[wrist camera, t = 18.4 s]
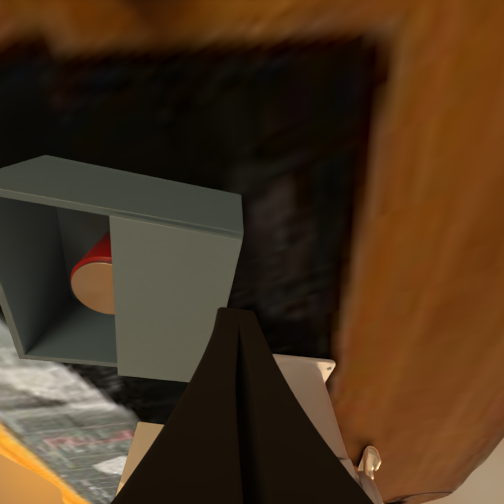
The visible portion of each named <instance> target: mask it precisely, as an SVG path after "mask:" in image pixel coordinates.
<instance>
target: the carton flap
mask: <svg viewBox="0 0 504 504" xmlns="http://www.w3.org/2000/svg"><path fill="white" fill-rule="evenodd" d="M109 219H110V237H111V255H112V273H113V292H114V310H115V328H116V346H117V364H118V375H123V376H133V377H143V378H153V379H163V380H173V381H183V382H190V380H191V378H192V376H193V374H194V372H195V370H196V368H197V366H198V364H199V362H200V360H201V358H202V356H203V354H204V352H205V349H206V347H207V344H208V342H209V340H210V337H211V335H212V332H213V328H214V323H215V319H216V314H217V310H218V308H220V307H227V303H228V299H229V295H230V291H231V287H232V282H233V278H234V274H235V270H236V266H237V261H238V257H239V253H240V249H241V245H242V237H238V236H232V235H227V234H222V233H216V232H211V231H206V230H200V229H195V228H190V227H184V226H179V225H174V224H168V223H163V222H158V221H152V220H147V219H142V218H136V217H131V216H126V215H120V214H115V213H112V214H111V215H110V216H109Z"/></svg>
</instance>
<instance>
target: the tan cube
mask: <svg viewBox="0 0 504 504" xmlns="http://www.w3.org/2000/svg"><path fill="white" fill-rule="evenodd" d="M163 426H164V425H161V424H153V423H145V422H138V424H137V427H136V431H135V434H134V437H133V440H132V443H131V447H130V450H129V453H128V457H127V460H126V463H125V467H124V470H123V473H122V477H121V480H120V484H119V487H118V490H117V494H118V493H119V491H120V490H121V488H122V487H123V486H124V484H125V483H126V481H127V480H128V478H129V477H130V475H131V474H132V473H133V471H134V470H135V468H136V467H137V465H138V464H139V462H140V461H141V460H142V458H143V457H144V455H145V454H146V452H147V451H148V449H149V448H150V446H151V445H152V443H153V442H154V440H155V439H156V437H157V436H158V434H159V433H160V431H161V429H162V428H163ZM117 494H116V495H117Z"/></svg>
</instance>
